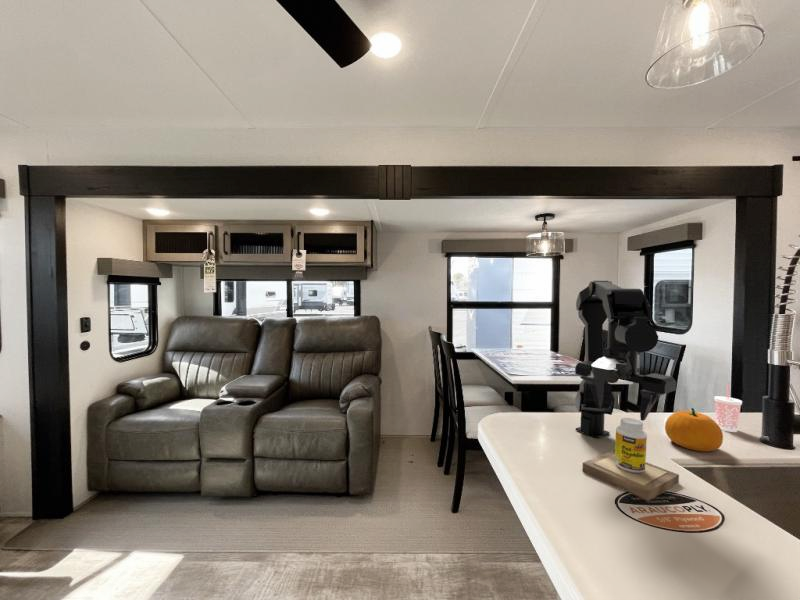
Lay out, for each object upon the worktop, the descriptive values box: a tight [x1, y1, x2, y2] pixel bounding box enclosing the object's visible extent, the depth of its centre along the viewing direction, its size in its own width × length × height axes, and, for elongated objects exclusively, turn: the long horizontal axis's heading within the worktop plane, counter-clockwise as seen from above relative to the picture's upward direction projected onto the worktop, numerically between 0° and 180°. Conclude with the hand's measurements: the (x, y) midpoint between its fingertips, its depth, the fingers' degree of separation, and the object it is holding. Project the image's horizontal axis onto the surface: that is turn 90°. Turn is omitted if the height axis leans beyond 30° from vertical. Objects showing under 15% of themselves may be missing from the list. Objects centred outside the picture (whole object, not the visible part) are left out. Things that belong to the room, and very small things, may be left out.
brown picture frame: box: [582, 449, 680, 502], centre depth 75 cm, size 13×13×2 cm
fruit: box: [664, 407, 724, 452], centre depth 91 cm, size 12×12×10 cm
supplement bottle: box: [614, 417, 648, 473], centre depth 75 cm, size 6×6×10 cm
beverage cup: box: [713, 381, 743, 433], centre depth 104 cm, size 6×6×14 cm
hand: (619, 413), depth 78 cm, fingers open, 9 cm apart
